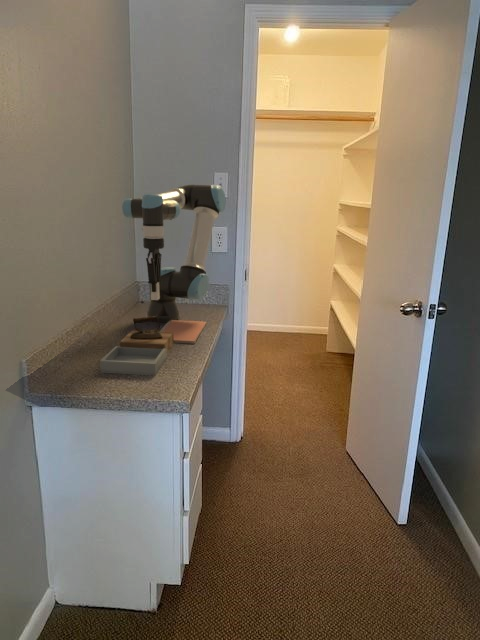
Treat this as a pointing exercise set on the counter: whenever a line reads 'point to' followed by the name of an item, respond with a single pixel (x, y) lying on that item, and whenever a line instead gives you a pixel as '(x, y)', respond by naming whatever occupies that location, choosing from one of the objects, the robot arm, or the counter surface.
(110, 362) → the bin
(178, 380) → the counter surface
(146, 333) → the clothes iron
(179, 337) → the notebook
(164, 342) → the walnut stand
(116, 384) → the counter surface
